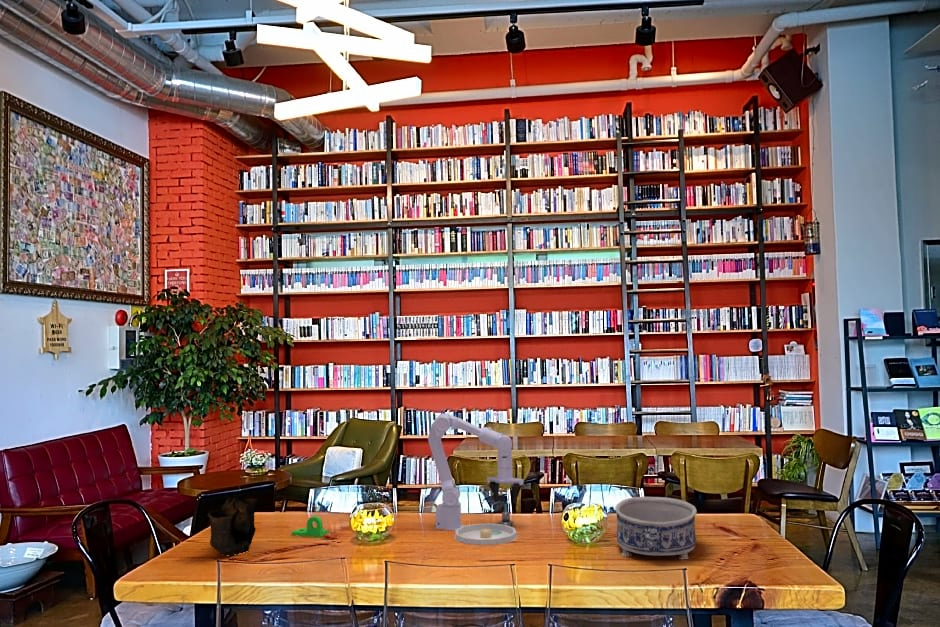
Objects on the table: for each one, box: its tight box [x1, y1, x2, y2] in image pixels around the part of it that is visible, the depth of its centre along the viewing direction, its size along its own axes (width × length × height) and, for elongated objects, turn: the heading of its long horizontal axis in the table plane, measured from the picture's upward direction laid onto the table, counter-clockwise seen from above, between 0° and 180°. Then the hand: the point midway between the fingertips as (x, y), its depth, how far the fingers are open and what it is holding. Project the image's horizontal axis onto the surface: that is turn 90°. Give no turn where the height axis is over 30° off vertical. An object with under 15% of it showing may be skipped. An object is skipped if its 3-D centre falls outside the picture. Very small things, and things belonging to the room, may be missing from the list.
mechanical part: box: [291, 515, 329, 538], centre depth 274 cm, size 12×6×8 cm, turn 73°
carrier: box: [454, 522, 518, 546], centre depth 265 cm, size 23×23×3 cm
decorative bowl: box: [615, 496, 698, 560], centre depth 246 cm, size 42×27×15 cm, turn 164°
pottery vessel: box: [207, 496, 259, 556], centre depth 252 cm, size 25×11×20 cm, turn 170°
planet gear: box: [497, 511, 515, 528], centre depth 281 cm, size 6×6×6 cm
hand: (505, 502), depth 281 cm, fingers open, 7 cm apart
